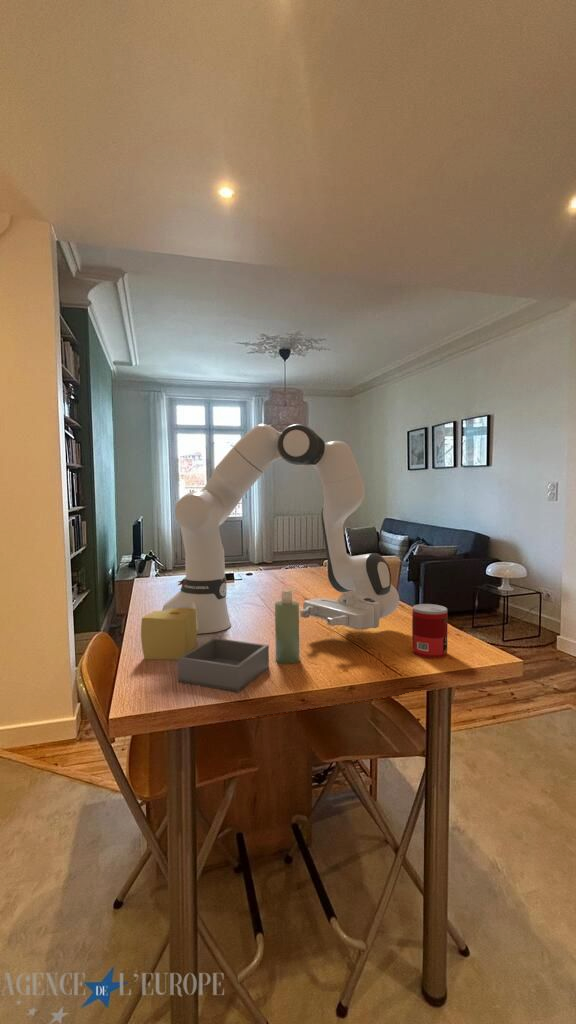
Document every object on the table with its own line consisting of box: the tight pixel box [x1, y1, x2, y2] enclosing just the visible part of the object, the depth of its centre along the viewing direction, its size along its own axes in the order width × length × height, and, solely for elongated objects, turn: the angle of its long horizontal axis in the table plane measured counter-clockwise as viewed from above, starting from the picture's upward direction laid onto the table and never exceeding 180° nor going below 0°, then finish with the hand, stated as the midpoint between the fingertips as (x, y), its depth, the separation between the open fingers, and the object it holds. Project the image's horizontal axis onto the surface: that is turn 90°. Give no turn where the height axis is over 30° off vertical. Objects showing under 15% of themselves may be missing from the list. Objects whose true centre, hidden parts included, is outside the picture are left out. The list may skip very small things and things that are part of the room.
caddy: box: [177, 637, 270, 693], centre depth 101 cm, size 14×14×5 cm
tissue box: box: [140, 608, 198, 661], centre depth 114 cm, size 10×11×10 cm
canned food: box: [411, 603, 449, 659], centre depth 113 cm, size 8×8×11 cm
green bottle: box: [274, 589, 300, 665], centre depth 109 cm, size 6×6×16 cm
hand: (315, 618), depth 115 cm, fingers open, 8 cm apart
